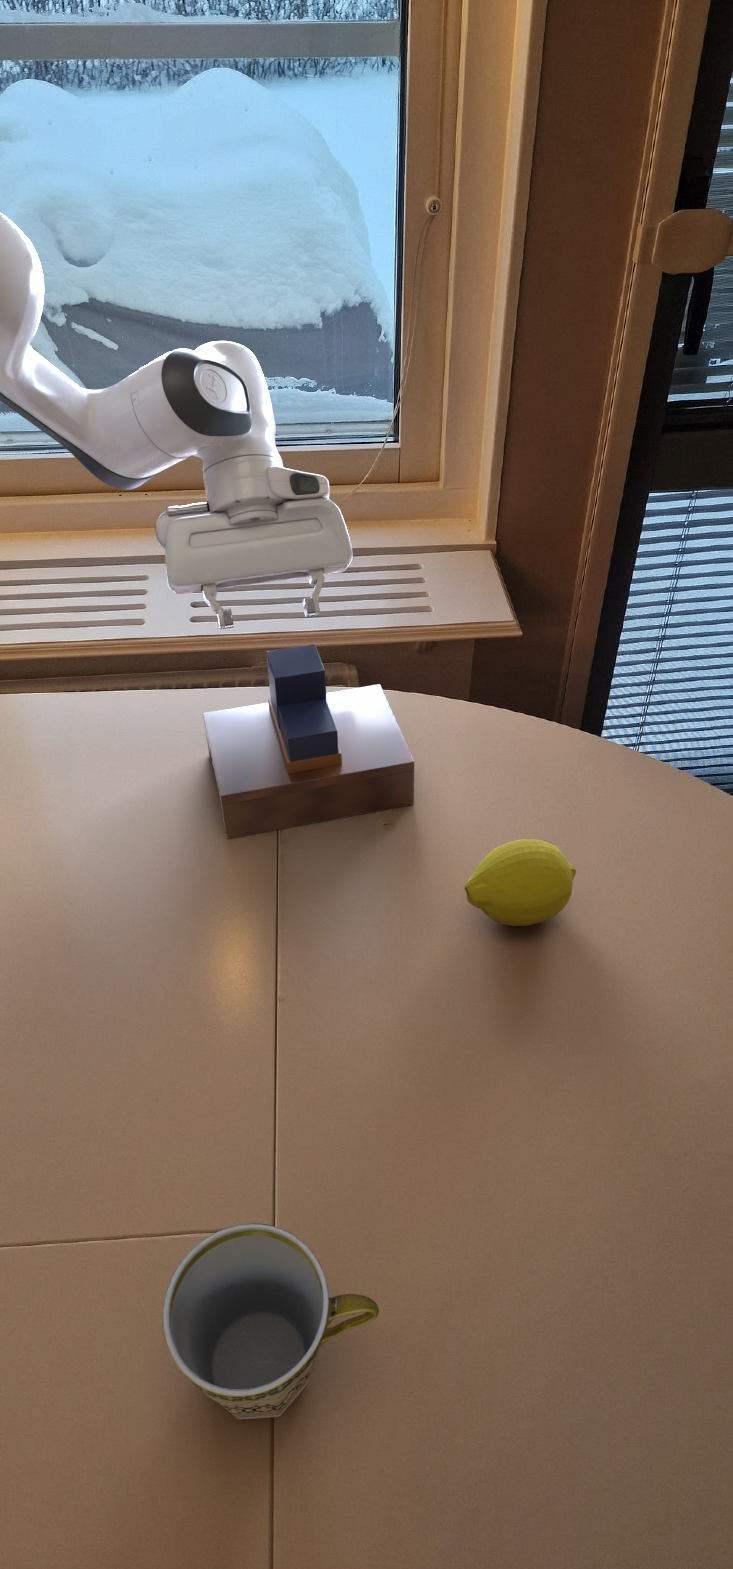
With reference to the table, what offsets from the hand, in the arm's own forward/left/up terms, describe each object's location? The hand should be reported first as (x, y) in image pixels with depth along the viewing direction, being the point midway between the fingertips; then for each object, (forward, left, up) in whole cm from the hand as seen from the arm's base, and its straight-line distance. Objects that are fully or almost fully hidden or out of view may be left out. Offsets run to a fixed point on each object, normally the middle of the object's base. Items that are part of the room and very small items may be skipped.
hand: (270, 621), depth 112 cm
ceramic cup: (+9, -69, -14) cm, 71 cm away
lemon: (+27, -28, -14) cm, 41 cm away
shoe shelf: (+5, -10, -14) cm, 18 cm away
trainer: (+4, -10, -8) cm, 13 cm away
